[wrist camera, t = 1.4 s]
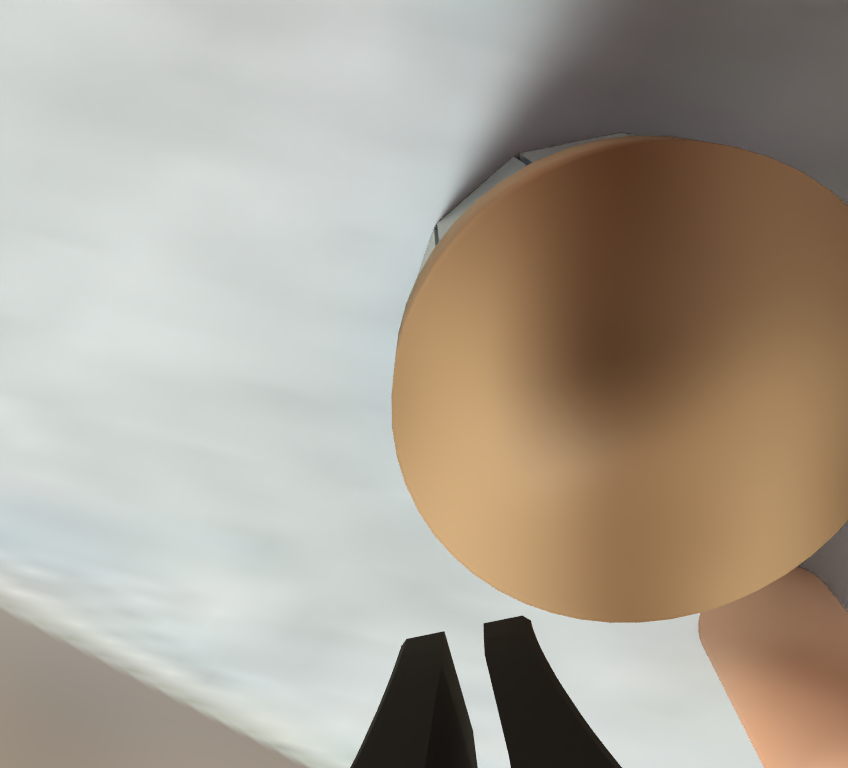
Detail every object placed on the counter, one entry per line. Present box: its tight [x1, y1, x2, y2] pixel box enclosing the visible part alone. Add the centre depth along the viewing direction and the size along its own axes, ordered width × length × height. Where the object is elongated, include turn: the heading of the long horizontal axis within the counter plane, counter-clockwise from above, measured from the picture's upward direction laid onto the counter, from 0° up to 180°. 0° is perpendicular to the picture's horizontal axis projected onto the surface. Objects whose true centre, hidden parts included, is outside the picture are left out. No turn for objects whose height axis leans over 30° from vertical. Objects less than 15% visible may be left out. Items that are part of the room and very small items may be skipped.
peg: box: [699, 566, 848, 768], centre depth 20 cm, size 4×4×6 cm
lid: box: [392, 136, 848, 622], centre depth 16 cm, size 10×10×2 cm
